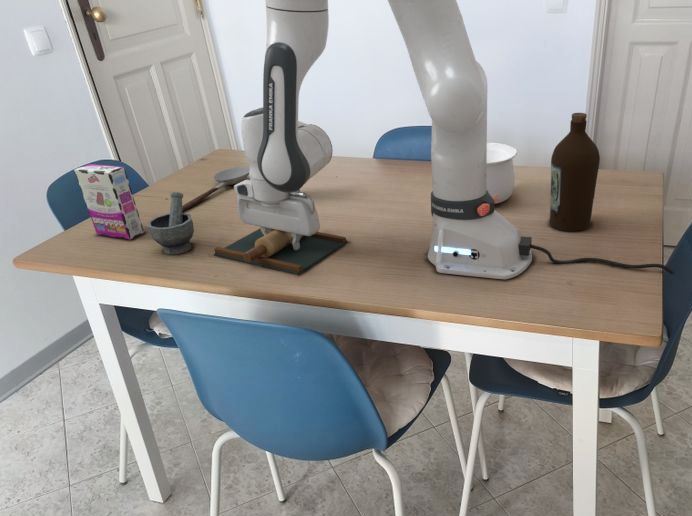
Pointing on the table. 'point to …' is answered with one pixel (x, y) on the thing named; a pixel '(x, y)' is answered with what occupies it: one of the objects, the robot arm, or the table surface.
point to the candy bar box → (109, 201)
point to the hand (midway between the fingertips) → (283, 246)
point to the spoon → (222, 183)
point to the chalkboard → (286, 252)
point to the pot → (500, 170)
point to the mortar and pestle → (173, 227)
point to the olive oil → (573, 178)
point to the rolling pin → (269, 245)
